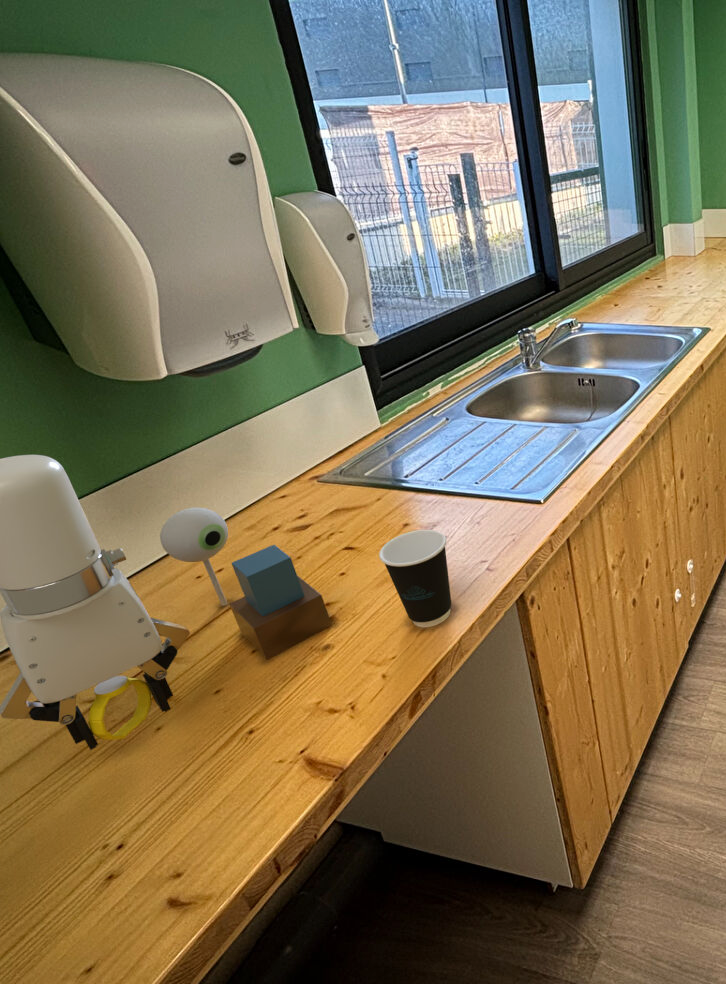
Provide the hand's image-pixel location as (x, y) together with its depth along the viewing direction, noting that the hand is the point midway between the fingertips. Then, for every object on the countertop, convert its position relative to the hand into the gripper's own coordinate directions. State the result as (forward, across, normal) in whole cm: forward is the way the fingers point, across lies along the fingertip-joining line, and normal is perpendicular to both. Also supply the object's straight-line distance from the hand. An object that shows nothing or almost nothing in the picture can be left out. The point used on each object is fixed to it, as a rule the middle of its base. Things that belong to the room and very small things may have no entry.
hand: (127, 721), depth 74 cm
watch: (+1, 0, 0) cm, 1 cm away
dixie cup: (+2, -31, +7) cm, 32 cm away
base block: (+3, -18, -6) cm, 19 cm away
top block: (-2, -18, -6) cm, 19 cm away
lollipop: (+3, -15, -19) cm, 25 cm away
